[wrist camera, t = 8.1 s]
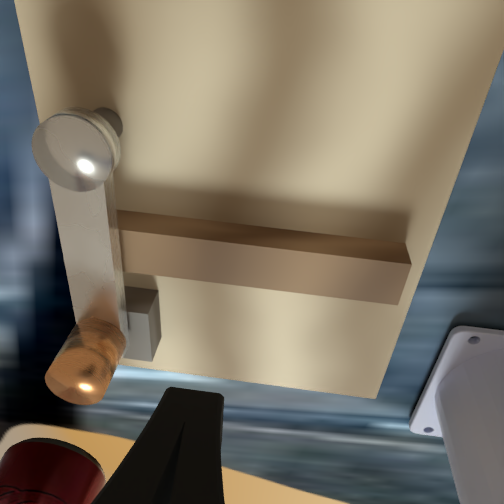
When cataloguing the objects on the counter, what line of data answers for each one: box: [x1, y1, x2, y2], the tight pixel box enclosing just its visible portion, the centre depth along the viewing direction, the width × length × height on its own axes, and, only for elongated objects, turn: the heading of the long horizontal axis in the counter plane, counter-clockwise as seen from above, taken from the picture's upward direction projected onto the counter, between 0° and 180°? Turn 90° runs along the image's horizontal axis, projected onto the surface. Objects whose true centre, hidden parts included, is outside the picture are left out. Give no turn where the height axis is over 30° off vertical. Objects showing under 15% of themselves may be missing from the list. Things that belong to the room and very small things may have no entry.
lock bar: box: [32, 107, 130, 405], centre depth 15 cm, size 10×2×3 cm, turn 175°
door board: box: [14, 0, 504, 399], centre depth 18 cm, size 15×18×3 cm
